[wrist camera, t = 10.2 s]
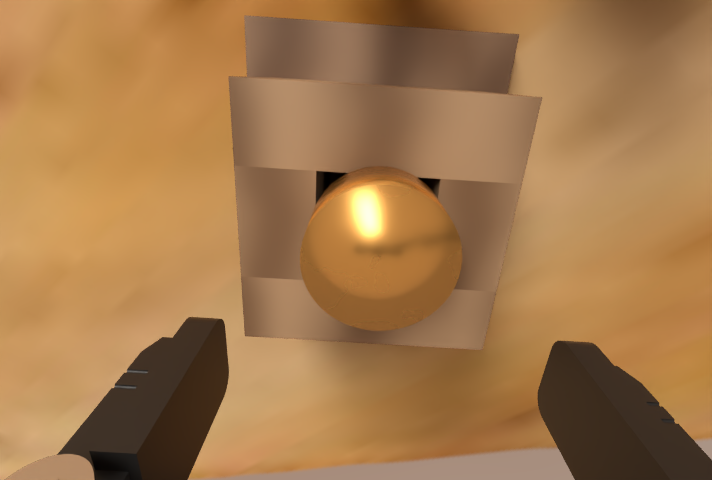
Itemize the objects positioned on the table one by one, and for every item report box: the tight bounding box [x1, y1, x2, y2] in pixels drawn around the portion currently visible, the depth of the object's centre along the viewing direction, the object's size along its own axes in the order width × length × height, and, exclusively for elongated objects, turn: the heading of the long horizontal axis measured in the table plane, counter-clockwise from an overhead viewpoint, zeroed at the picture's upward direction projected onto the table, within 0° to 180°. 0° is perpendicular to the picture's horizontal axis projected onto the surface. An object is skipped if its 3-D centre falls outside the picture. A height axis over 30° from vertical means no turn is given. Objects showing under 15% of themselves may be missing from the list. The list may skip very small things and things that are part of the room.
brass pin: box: [300, 166, 462, 331], centre depth 19 cm, size 6×6×10 cm
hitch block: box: [229, 16, 542, 350], centre depth 21 cm, size 15×18×10 cm
